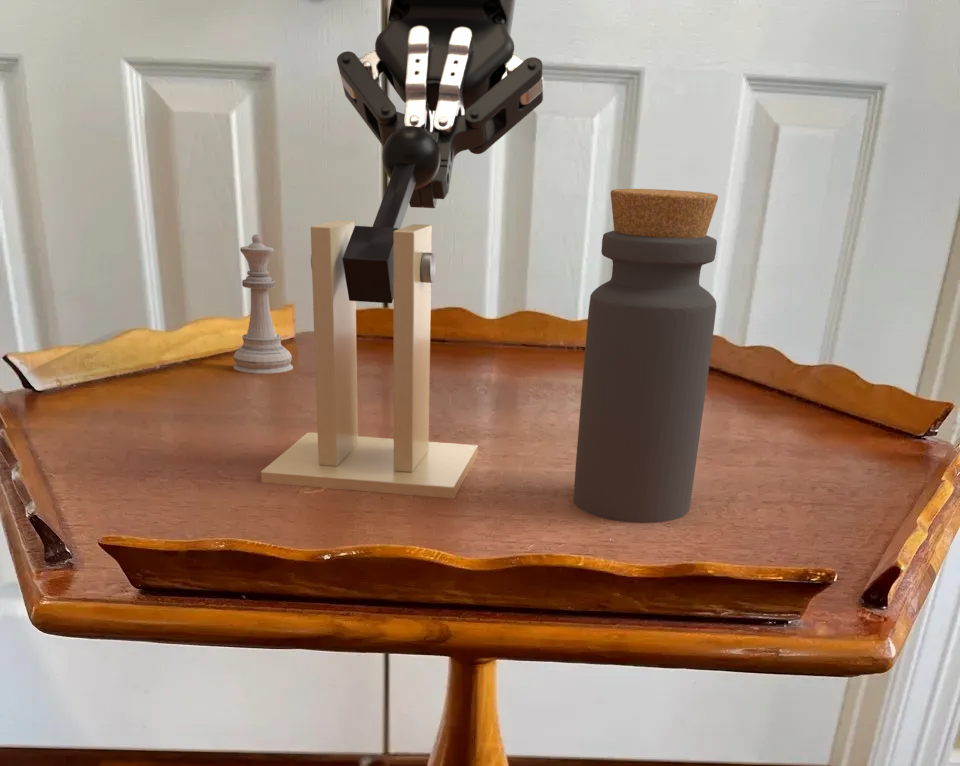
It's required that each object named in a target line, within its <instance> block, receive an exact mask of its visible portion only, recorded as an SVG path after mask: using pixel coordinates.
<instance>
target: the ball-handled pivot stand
mask: <svg viewBox="0 0 960 766" xmlns="http://www.w3.org/2000/svg"><path fill="white" fill-rule="evenodd" d="M355 224H356V223H355V221H354V220H343V219H342V220H341V219H335V220H331V221H328V222H323V223H319V224H315V225H311V226H310V249H311V250H310V251H311V254H310V268H311V282H312V310H313V337H314V339H313V340H314V370H315V371H314V372H315V392H316V393H315V397H316V399H315V400H316V401H315V402H316V428H317V431H316V432H308V431H307V432H306V433H305V434H304V435H303V436H301V437H300V438H299V439H298V440H297V441H296V442H294V443H293V444H292V445H291V446H289V447H288V448H287V449H285V451H284V452H282V453H281V454H280V455H279V456H278V457H277V458H275V459H274V460H273V461H271V463H269V464H268V465H267V466H265V467H264V468H263V469H262V470H261V471H260V482H261V483H262V484H275V485H285V486H297V487H309V488H321V489H333V490H334V489H335V490H346V491H358V492H370V493H379V494H380V493H382V494H395V495H404V496H405V495H406V496H418V497H429V498H439V499H440V498H442V499H455V497H456V496H457V493H458V492H459V491H460V488H461V487H462V484H463V483H464V481H465V479H466V477H468V474H469V472H470V470H471V469H472V467H473V465H474V464H475V461H476V459H477V457H478V455H479V446H478V445H477V444H467V443H453V442H452V443H451V442H439V441H430V440H429V439H430V438H429V437H430V436H429V435H430V379H431V378H430V377H431V376H430V375H431V374H430V372H431V371H430V369H431V310H432V309H431V304H432V303H431V302H432V301H431V300H432V283H434V281H435V277H436V255H435V253H434V252H432V241H433V240H432V239H433V238H432V234H433V226H432V225H431V224H421V223H413V224H410V225H407V226H405V227H404V226H403V227H401V228H400V229H398V230H395V231H394V299H393V438H390V437H389V438H386V437H373V436H362V435H361V436H360V435H359V418H358V417H359V416H358V415H359V414H358V412H359V411H358V410H359V409H358V356H357V355H358V354H357V353H358V352H357V301H349V296H348V290H347V284H346V278H345V272H344V266H343V259H342V258H343V256H344V253H345V250H346V248H347V245H348V243H349V240H350V238H351V235H352V232H353V230H354V227H355V226H356V225H355Z"/></svg>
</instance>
